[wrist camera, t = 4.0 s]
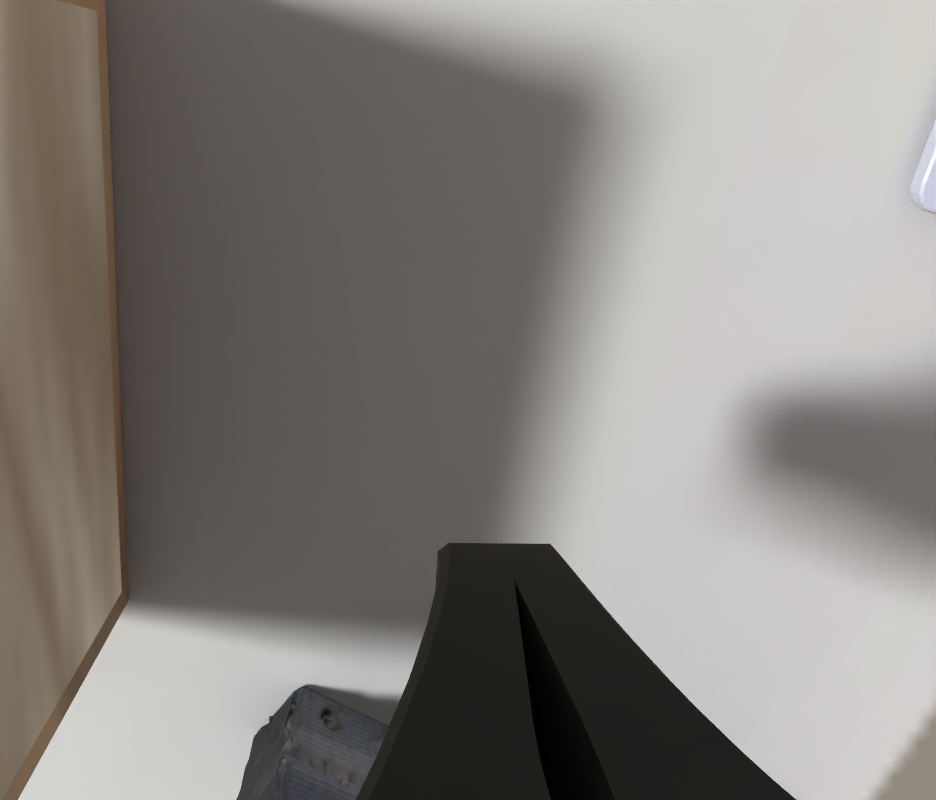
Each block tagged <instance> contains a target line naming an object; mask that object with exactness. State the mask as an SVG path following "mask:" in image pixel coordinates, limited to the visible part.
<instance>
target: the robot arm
mask: <svg viewBox="0 0 936 800" xmlns="http://www.w3.org/2000/svg"><path fill="white" fill-rule="evenodd" d="M910 196H911V201H912V202H913V203H914V205H915V206H916V207H918V208H920V209H922V210H925V211H930V212H935V213H936V120H935V123H934V126H933V128H932V131H931V133H930V136H929V139H928V141H927V144H926V146H925V149H924V152H923V154H922V157H921V159H920V162H919V165H918V167H917V170H916V172H915V175H914V178H913V180H912V183H911V188H910ZM356 800H796V799H795V798H794V797H792V796H791V795H790V794H789V793H788V792H787V791H785V790H784V789H783V788H782V787H781V786H779V785H778V784H777V783H776V782H775V781H774V780H773V779H771V778H770V777H769V776H768V775H767V774H766V773H765V772H764V771H763V770H761V769H760V768H759V767H758V766H757V765H756V764H755V763H754V762H753V761H752V760H750V759H749V758H748V757H747V756H746V755H745V754H744V753H743V752H742V751H741V750H740V749H739V748H737V747H736V746H735V745H734V744H733V743H732V742H731V741H730V740H729V739H728V738H727V737H726V736H725V735H724V734H723V733H722V732H721V731H720V730H719V729H718V728H717V727H716V726H715V725H714V724H713V723H712V722H711V721H710V720H709V719H708V718H707V717H706V716H705V715H703V714H702V713H701V712H700V711H699V710H698V709H697V708H696V707H695V706H694V705H693V704H692V703H691V702H690V701H689V700H688V699H687V697H686V696H685V695H684V694H683V693H682V692H681V691H680V690H679V689H678V688H677V687H676V686H675V685H674V684H673V683H672V682H671V681H670V680H669V679H668V678H667V677H666V676H665V674H664V673H663V672H662V671H661V670H660V669H659V668H658V667H657V666H656V665H655V664H654V663H653V661H652V660H651V659H650V658H649V657H648V656H647V655H646V654H645V653H644V652H643V651H642V650H641V648H640V647H639V646H638V645H637V644H636V643H635V642H634V641H633V640H632V639H631V638H630V636H629V635H628V634H627V633H626V632H625V631H624V630H623V629H622V627H621V626H620V625H619V624H618V623H617V622H616V621H615V619H614V618H613V617H612V616H611V615H610V614H609V612H608V611H607V610H606V609H605V608H604V607H603V605H602V604H601V603H600V602H599V601H598V600H597V598H596V597H595V596H594V595H593V594H592V593H591V591H590V590H589V589H588V588H587V587H586V585H585V584H584V583H583V582H582V581H581V579H580V578H579V577H578V576H577V575H576V573H575V572H574V571H573V570H572V569H571V567H570V566H569V565H568V564H567V563H566V561H565V560H564V559H563V558H562V557H561V556H560V554H559V553H558V552H557V551H556V550H555V549H554V548H553V547H552V545H551V544H486V543H448V544H447V545H445V546H444V547H443V548H442V549H440V550H439V551H438V558H437V575H436V590H435V595H434V600H433V604H432V608H431V612H430V616H429V620H428V623H427V626H426V629H425V632H424V635H423V638H422V641H421V645H420V648H419V651H418V654H417V657H416V660H415V663H414V666H413V669H412V672H411V674H410V677H409V680H408V682H407V685H406V687H405V690H404V692H403V695H402V697H401V699H400V702H399V704H398V707H397V709H396V711H395V714H394V716H393V719H392V721H391V723H390V726H389V728H388V731H387V733H386V735H385V738H384V740H383V743H382V745H381V747H380V749H379V752H378V754H377V756H376V758H375V760H374V762H373V765H372V767H371V769H370V771H369V773H368V775H367V777H366V780H365V782H364V784H363V786H362V788H361V790H360V792H359V794H358V796H357V798H356Z"/></svg>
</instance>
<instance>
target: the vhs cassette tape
mask: <svg viewBox="0 0 936 800" xmlns="http://www.w3.org/2000/svg"><path fill="white" fill-rule="evenodd" d="M269 720H270V723H269V724H267V725H265V726H263V727H262V728H261V729H260V730H259V731H258V733H257V734H256V735H255V736H254V739H253V743H252V748H251V752H250V757H249V760H248V763H247V765H246V768H245V771H244V776H243V781H242V786H241V790H240V792H239V795H238V797H237V800H356V798H357V796H358V794H359V792H360V790H361V788H362V786H363V784H364V782H365V780H366V777H367V775H368V773H369V771H370V769H371V767H372V765H373V762H374V760H375V758H376V756H377V754H378V752H379V749H380V747H381V745H382V743H383V740H384V738H385V735H386V733H387V731H388V728H389V726H387V725H385V724H382V723H380V722H378V721H376V720H374V719H372V718H370V717H368V716H366V715H364V714H362V713H359V712H357V711H355V710H353V709H351V708H348V707H346V706H344V705H342V704H340V703H338V702H336V701H334V700H332V699H330V698H328V697H325V696H323V695H321V694H319V693H317V692H315V691H313V690H311V689H309V688H307V687H301V688H299V689H297V690H296V691H294V692H293V693H292V694H291V695H290V697H289V698H288V699H287V700H286V702H285V703H284V704H283V705H282V706H281V707H280V709H279V710H278V711H277V712H276V713H275V714H274V716H271V717H269Z"/></svg>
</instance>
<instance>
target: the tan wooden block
mask: <svg viewBox="0 0 936 800" xmlns="http://www.w3.org/2000/svg"><path fill="white" fill-rule="evenodd" d="M128 600H129V597H128V571H127V545H126V519H125V493H124V467H123V442H122V416H121V390H120V364H119V338H118V312H117V286H116V260H115V234H114V209H113V183H112V157H111V131H110V105H109V79H108V53H107V27H106V2H105V0H0V800H18V798H19V796H20V795H21V793H22V791H23V789H24V787H25V786H26V784H27V782H28V780H29V778H30V777H31V775H32V773H33V771H34V769H35V768H36V766H37V764H38V762H39V760H40V759H41V757H42V755H43V753H44V751H45V750H46V748H47V746H48V744H49V742H50V741H51V739H52V737H53V735H54V733H55V731H56V730H57V728H58V726H59V724H60V722H61V721H62V719H63V717H64V715H65V713H66V712H67V710H68V708H69V706H70V704H71V703H72V701H73V699H74V697H75V695H76V694H77V692H78V690H79V688H80V686H81V685H82V683H83V681H84V679H85V677H86V676H87V674H88V672H89V670H90V668H91V667H92V665H93V663H94V661H95V659H96V658H97V656H98V654H99V652H100V650H101V649H102V647H103V645H104V643H105V641H106V640H107V638H108V636H109V634H110V632H111V631H112V629H113V627H114V625H115V623H116V622H117V620H118V618H119V616H120V614H121V613H122V611H123V609H124V607H125V605H126V604H127V602H128Z"/></svg>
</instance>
